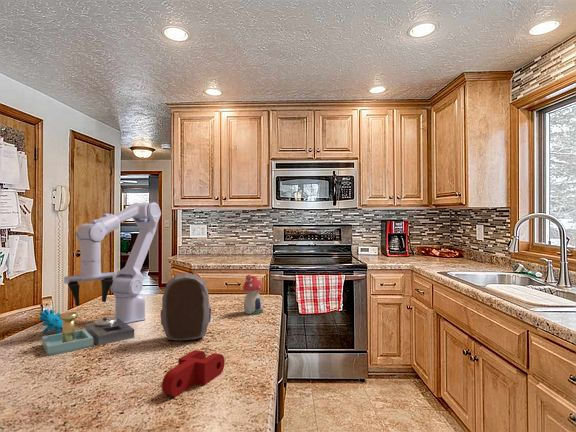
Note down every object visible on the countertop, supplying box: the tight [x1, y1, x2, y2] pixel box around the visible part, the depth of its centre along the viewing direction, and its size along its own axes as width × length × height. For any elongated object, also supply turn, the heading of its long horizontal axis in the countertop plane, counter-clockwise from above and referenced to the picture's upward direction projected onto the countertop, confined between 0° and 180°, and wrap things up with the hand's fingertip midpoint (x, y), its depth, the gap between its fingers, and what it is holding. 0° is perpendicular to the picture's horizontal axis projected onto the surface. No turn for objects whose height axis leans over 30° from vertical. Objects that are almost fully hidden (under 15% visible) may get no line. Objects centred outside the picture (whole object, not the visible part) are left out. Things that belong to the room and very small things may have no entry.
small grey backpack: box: [160, 272, 213, 341], centre depth 112 cm, size 15×8×20 cm, turn 99°
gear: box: [39, 308, 63, 334], centre depth 117 cm, size 11×6×10 cm
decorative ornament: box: [242, 274, 264, 316], centre depth 141 cm, size 9×6×15 cm
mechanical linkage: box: [161, 349, 226, 398], centre depth 81 cm, size 16×7×5 cm, turn 157°
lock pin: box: [60, 311, 79, 343], centre depth 105 cm, size 4×4×8 cm
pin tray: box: [41, 328, 94, 357], centre depth 105 cm, size 11×11×2 cm
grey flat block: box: [85, 316, 135, 346], centre depth 115 cm, size 10×16×4 cm, turn 41°
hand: (90, 303), depth 117 cm, fingers open, 7 cm apart
